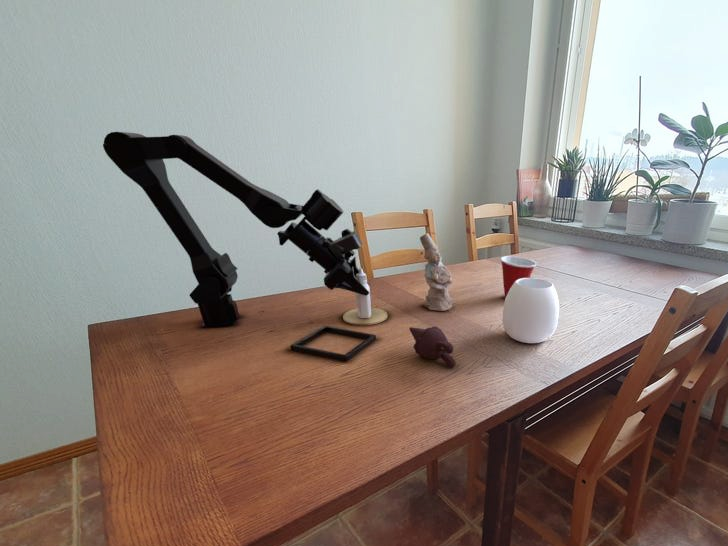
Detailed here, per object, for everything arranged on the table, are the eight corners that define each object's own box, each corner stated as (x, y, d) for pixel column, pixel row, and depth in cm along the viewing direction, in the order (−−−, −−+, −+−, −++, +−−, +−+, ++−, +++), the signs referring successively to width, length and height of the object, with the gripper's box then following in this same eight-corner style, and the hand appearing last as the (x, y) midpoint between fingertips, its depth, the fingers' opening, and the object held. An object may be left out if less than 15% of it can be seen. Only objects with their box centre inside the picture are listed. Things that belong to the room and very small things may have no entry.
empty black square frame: (291, 350, 79) (290, 345, 78) (325, 330, 88) (325, 325, 88) (346, 361, 75) (345, 356, 75) (376, 339, 85) (375, 334, 85)
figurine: (416, 304, 106) (414, 231, 97) (441, 299, 111) (441, 229, 102) (434, 314, 100) (434, 238, 91) (459, 308, 105) (461, 235, 96)
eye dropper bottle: (351, 317, 94) (346, 270, 88) (361, 310, 99) (357, 265, 93) (367, 320, 94) (363, 272, 88) (377, 312, 98) (374, 267, 93)
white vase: (565, 337, 92) (574, 284, 85) (533, 354, 83) (541, 296, 76) (522, 321, 99) (528, 271, 93) (489, 335, 90) (493, 281, 84)
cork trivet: (343, 326, 90) (343, 325, 90) (343, 310, 99) (342, 308, 99) (389, 323, 94) (389, 321, 93) (385, 308, 103) (385, 306, 102)
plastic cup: (534, 305, 111) (539, 265, 105) (497, 303, 111) (501, 263, 105) (530, 293, 121) (534, 256, 115) (497, 291, 120) (499, 254, 115)
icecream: (392, 322, 78) (436, 354, 70) (420, 307, 82) (465, 336, 73) (399, 348, 83) (441, 380, 74) (426, 332, 86) (468, 362, 78)
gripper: (332, 226, 76) (391, 278, 84) (341, 213, 92) (389, 258, 100) (298, 264, 78) (358, 312, 86) (312, 245, 94) (361, 287, 102)
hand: (368, 290), depth 93 cm, fingers closed on eye dropper bottle, 6 cm apart
